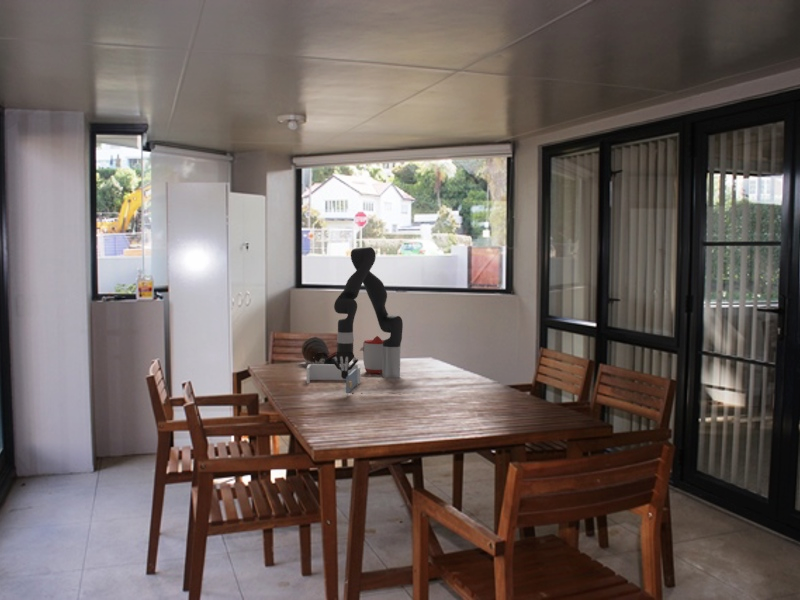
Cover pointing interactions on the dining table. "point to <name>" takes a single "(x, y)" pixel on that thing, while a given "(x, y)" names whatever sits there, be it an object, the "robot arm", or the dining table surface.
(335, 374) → the case
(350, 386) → the door
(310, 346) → the clay pot
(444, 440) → the dining table surface
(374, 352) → the citrus juicer
